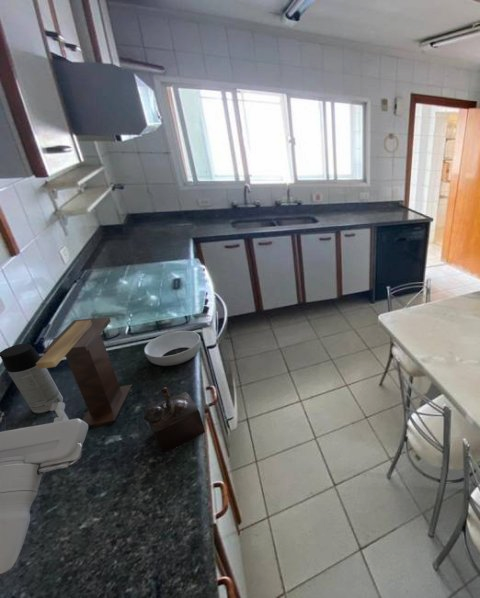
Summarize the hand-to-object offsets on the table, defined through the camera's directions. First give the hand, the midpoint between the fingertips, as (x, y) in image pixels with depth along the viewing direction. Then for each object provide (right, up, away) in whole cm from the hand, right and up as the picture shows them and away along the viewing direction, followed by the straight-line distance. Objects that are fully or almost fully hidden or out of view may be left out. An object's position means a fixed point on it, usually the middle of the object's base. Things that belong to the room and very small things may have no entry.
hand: (29, 407), depth 68 cm
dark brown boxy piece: (+18, -16, +21) cm, 32 cm away
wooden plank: (-6, +11, +14) cm, 18 cm away
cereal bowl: (-5, 0, +53) cm, 53 cm away
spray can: (-26, -9, +28) cm, 40 cm away
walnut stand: (-10, -10, +29) cm, 32 cm away
